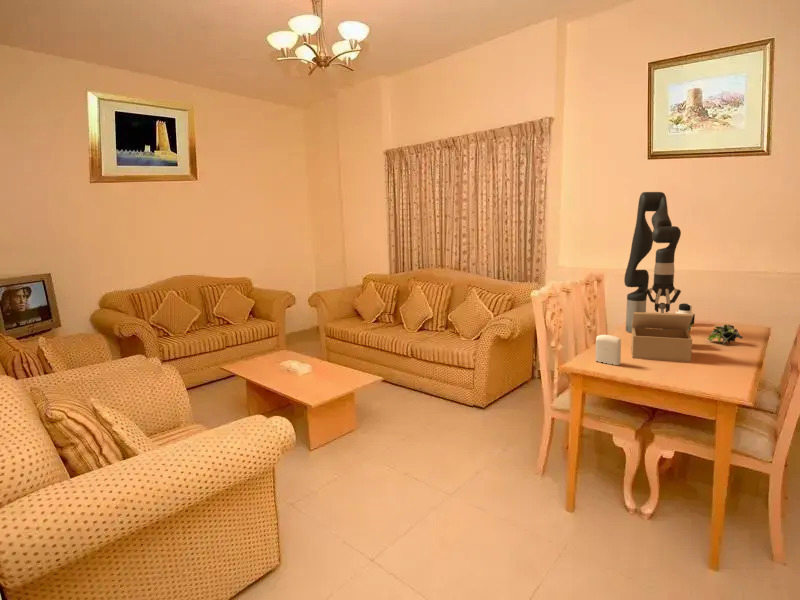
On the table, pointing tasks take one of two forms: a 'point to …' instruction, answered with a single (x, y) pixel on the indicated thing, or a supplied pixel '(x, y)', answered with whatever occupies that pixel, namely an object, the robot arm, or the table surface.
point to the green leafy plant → (725, 333)
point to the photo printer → (608, 349)
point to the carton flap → (661, 320)
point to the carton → (661, 344)
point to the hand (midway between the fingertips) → (661, 311)
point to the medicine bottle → (686, 311)
